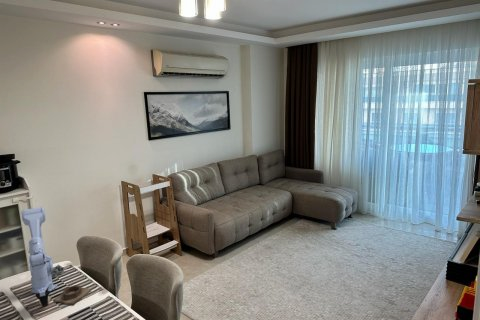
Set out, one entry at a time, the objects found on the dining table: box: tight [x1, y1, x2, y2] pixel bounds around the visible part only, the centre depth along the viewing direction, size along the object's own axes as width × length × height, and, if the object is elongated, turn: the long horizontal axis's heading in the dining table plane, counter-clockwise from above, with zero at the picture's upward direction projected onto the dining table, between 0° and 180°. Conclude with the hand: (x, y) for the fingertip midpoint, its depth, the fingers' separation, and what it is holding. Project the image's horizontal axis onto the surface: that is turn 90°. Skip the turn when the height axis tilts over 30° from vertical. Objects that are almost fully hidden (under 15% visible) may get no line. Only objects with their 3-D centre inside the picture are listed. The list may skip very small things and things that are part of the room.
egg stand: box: [53, 284, 92, 306], centre depth 161 cm, size 12×12×4 cm
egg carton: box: [51, 264, 65, 279], centre depth 181 cm, size 11×8×4 cm
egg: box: [38, 295, 51, 306], centre depth 155 cm, size 5×5×5 cm
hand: (45, 301), depth 155 cm, fingers open, 6 cm apart
